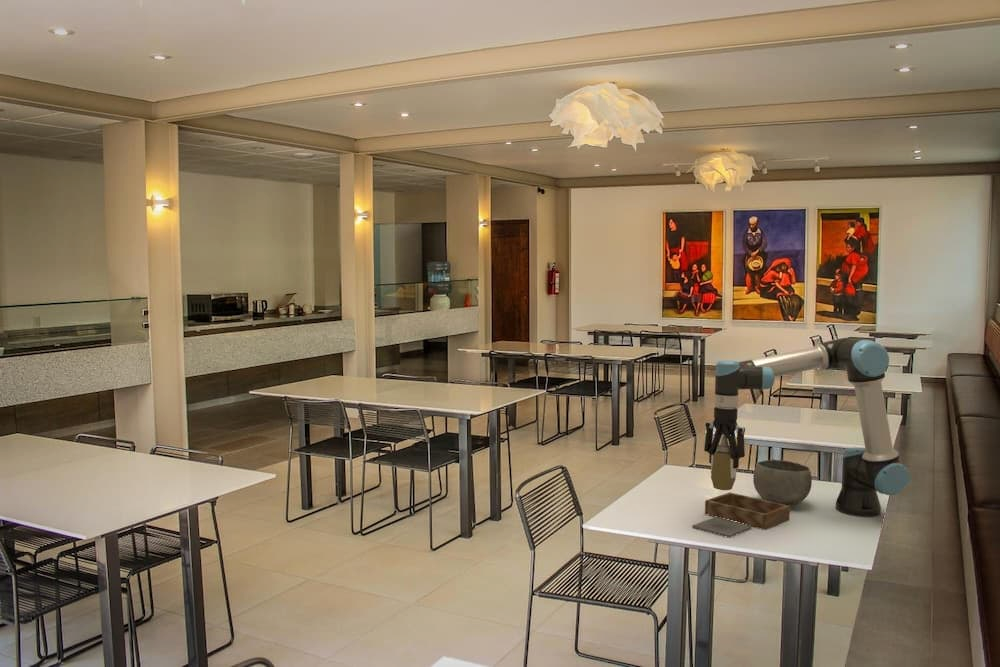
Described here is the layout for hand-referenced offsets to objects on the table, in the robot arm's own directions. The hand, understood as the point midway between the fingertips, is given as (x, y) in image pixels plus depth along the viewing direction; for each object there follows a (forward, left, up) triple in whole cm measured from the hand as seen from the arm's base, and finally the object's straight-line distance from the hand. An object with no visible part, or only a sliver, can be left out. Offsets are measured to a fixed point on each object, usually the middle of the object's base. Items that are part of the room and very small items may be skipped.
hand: (723, 475), depth 277 cm
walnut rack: (+1, -18, -18) cm, 26 cm away
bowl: (+1, -43, -18) cm, 47 cm away
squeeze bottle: (0, 0, -5) cm, 5 cm away
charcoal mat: (0, 0, -18) cm, 18 cm away
